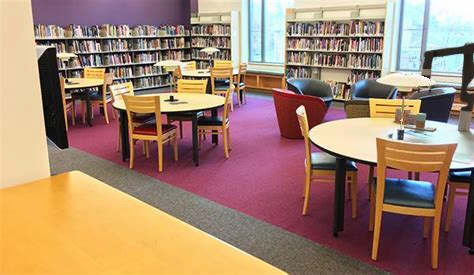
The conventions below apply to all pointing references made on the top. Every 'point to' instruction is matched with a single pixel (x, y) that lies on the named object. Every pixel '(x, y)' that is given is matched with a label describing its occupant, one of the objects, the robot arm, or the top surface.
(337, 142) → the top surface
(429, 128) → the blueprint board
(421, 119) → the teal block
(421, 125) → the walnut block
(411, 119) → the stack of blocks
